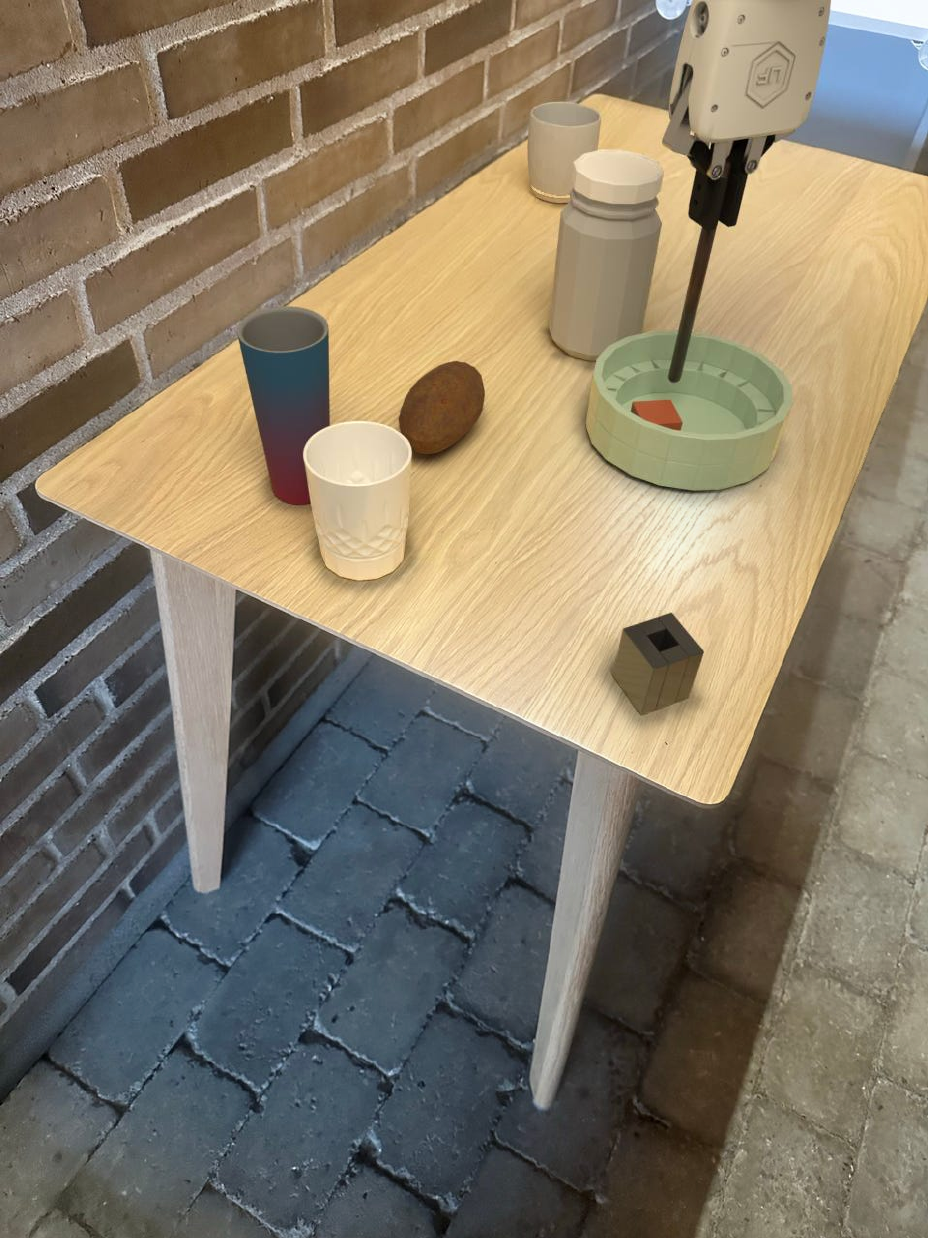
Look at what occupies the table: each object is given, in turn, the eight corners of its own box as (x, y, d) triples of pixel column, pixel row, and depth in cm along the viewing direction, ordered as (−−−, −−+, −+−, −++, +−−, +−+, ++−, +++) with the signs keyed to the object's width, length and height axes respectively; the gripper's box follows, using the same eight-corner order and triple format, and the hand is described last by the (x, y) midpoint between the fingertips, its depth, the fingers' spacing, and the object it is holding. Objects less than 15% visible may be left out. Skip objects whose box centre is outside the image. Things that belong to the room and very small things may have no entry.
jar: (635, 371, 96) (669, 192, 83) (541, 358, 97) (559, 179, 84) (642, 324, 102) (674, 151, 89) (553, 312, 103) (572, 140, 90)
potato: (381, 464, 84) (379, 397, 79) (430, 397, 91) (431, 332, 86) (452, 483, 82) (454, 416, 77) (495, 413, 90) (500, 348, 85)
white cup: (432, 552, 76) (433, 451, 69) (361, 602, 72) (355, 500, 64) (365, 508, 79) (359, 407, 72) (293, 553, 75) (280, 451, 68)
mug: (574, 213, 121) (584, 131, 114) (512, 198, 124) (518, 116, 117) (611, 180, 129) (623, 101, 122) (552, 166, 132) (560, 88, 125)
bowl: (703, 370, 96) (716, 316, 92) (813, 468, 85) (834, 412, 81) (552, 406, 91) (559, 350, 87) (649, 515, 80) (662, 458, 76)
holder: (658, 659, 69) (671, 611, 65) (689, 698, 66) (704, 651, 63) (611, 675, 68) (622, 628, 64) (641, 716, 65) (654, 669, 61)
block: (663, 432, 87) (670, 399, 85) (675, 455, 85) (683, 421, 82) (625, 434, 87) (632, 401, 84) (636, 457, 85) (643, 424, 82)
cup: (356, 480, 82) (346, 322, 71) (307, 522, 78) (288, 362, 67) (296, 453, 84) (277, 297, 73) (245, 492, 80) (217, 333, 69)
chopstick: (675, 377, 87) (727, 153, 73) (682, 384, 87) (736, 159, 72) (664, 379, 87) (714, 155, 72) (671, 386, 86) (723, 161, 71)
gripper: (707, -34, 58) (655, 256, 71) (900, -49, 62) (817, 226, 76) (642, -60, 62) (605, 217, 76) (826, -72, 67) (760, 191, 80)
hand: (711, 220), depth 76 cm, fingers closed on chopstick, 1 cm apart
